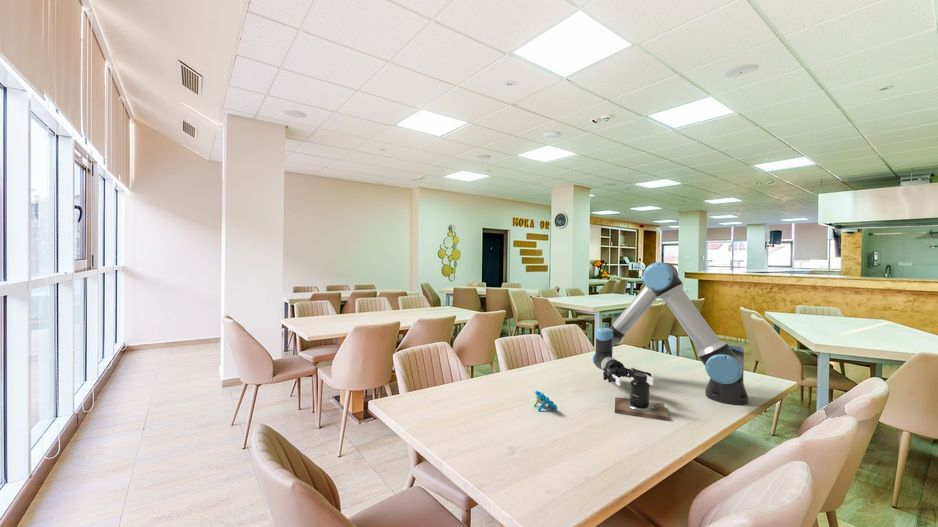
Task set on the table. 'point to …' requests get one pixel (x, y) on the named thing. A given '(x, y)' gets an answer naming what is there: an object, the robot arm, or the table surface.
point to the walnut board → (641, 409)
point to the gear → (544, 401)
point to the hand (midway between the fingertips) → (637, 382)
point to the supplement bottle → (639, 391)
